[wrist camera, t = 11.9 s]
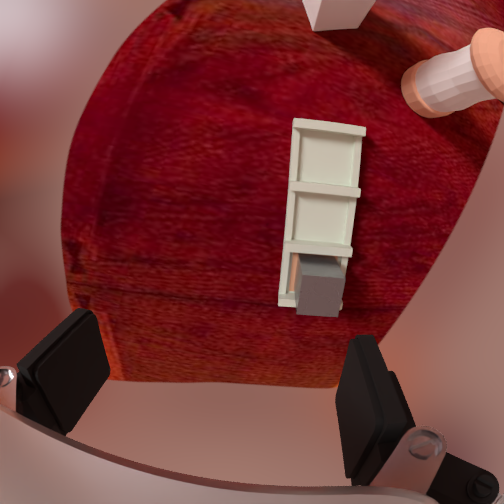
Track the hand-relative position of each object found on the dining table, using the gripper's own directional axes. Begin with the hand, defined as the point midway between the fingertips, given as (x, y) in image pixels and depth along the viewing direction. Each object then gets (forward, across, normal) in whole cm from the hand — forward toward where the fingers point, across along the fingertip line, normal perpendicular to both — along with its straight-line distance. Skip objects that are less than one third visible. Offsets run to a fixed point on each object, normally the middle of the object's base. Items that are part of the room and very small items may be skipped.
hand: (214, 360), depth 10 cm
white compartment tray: (+28, -7, 0) cm, 29 cm away
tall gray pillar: (+27, -7, +7) cm, 28 cm away
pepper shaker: (+28, -20, -17) cm, 39 cm away
